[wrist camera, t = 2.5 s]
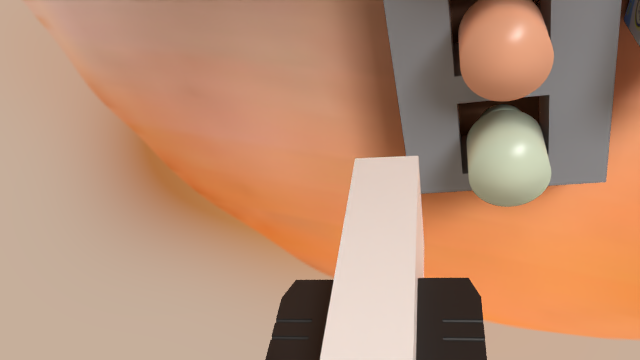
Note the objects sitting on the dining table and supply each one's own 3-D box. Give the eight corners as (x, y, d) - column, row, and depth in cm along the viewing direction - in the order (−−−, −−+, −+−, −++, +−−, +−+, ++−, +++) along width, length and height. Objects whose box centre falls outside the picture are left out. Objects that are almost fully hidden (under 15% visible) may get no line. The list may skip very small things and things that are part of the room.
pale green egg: (463, 96, 37) (466, 146, 33) (538, 88, 36) (552, 139, 32) (467, 155, 40) (471, 208, 36) (538, 149, 39) (550, 204, 34)
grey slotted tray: (366, -191, 32) (356, -179, 28) (617, -247, 29) (642, -240, 25) (414, 155, 44) (411, 194, 41) (591, 141, 41) (605, 181, 38)
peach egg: (454, -15, 33) (456, 25, 29) (539, -28, 32) (554, 13, 28) (460, 57, 36) (463, 105, 32) (539, 48, 35) (553, 96, 30)
